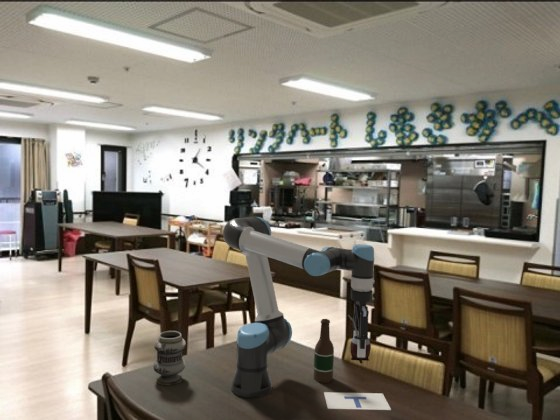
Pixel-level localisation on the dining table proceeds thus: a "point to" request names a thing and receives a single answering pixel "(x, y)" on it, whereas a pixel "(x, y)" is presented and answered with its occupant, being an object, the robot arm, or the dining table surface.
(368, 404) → the letter card
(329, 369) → the beer bottle
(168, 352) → the apothecary jar
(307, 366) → the dining table surface
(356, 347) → the mate gourd
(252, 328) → the robot arm
